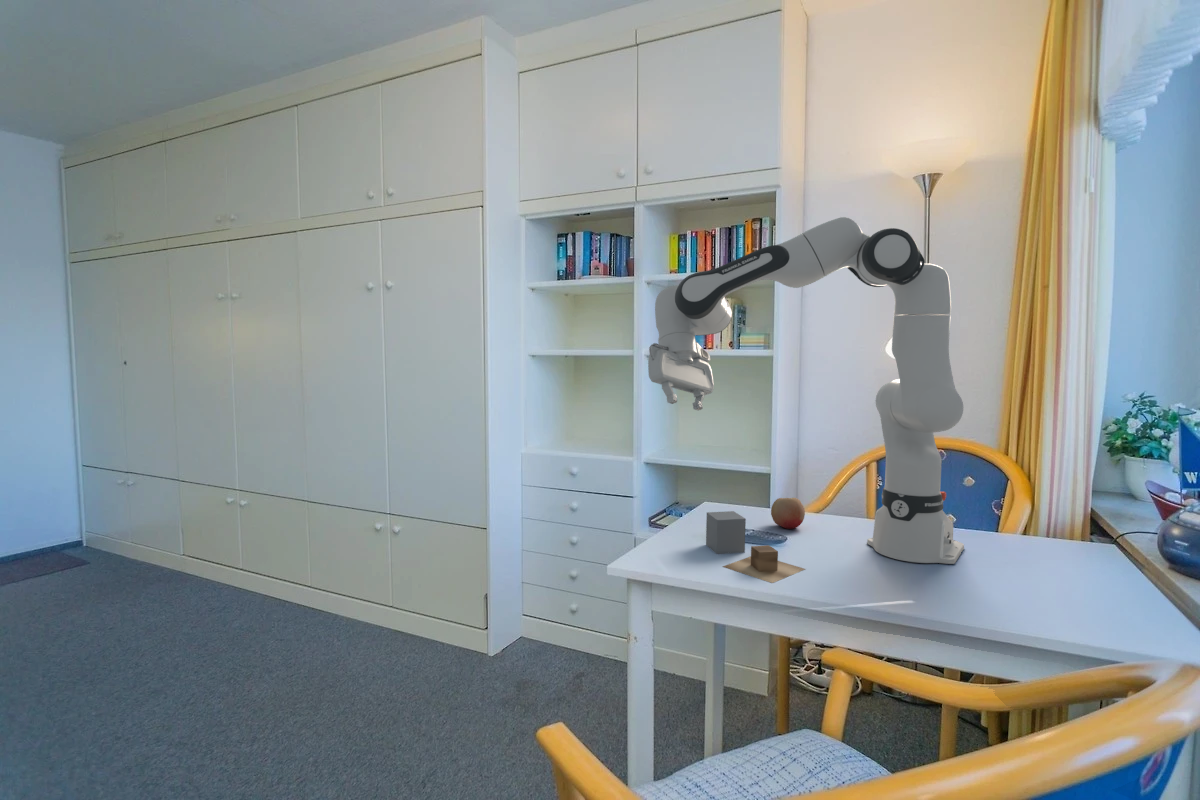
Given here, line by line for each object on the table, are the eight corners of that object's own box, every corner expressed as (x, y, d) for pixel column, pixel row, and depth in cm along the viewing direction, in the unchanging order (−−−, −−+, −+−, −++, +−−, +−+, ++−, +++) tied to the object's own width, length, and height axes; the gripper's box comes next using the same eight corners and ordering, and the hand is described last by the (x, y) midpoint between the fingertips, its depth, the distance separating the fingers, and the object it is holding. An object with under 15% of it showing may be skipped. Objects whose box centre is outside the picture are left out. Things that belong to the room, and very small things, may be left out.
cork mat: (756, 556, 137) (756, 554, 137) (805, 570, 128) (805, 568, 128) (722, 568, 129) (722, 566, 129) (772, 585, 120) (772, 583, 120)
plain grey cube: (705, 546, 144) (706, 512, 143) (732, 544, 145) (733, 511, 144) (716, 555, 137) (717, 520, 136) (744, 554, 138) (745, 518, 138)
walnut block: (750, 565, 130) (751, 546, 130) (768, 563, 131) (768, 545, 131) (759, 571, 126) (759, 552, 126) (777, 570, 127) (778, 551, 127)
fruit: (796, 523, 164) (797, 493, 163) (808, 532, 156) (809, 500, 155) (766, 523, 163) (767, 493, 163) (777, 532, 155) (778, 500, 155)
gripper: (659, 336, 139) (666, 394, 135) (714, 356, 153) (722, 409, 148) (638, 346, 143) (645, 402, 139) (694, 364, 157) (701, 416, 152)
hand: (685, 406), depth 144 cm, fingers open, 8 cm apart
